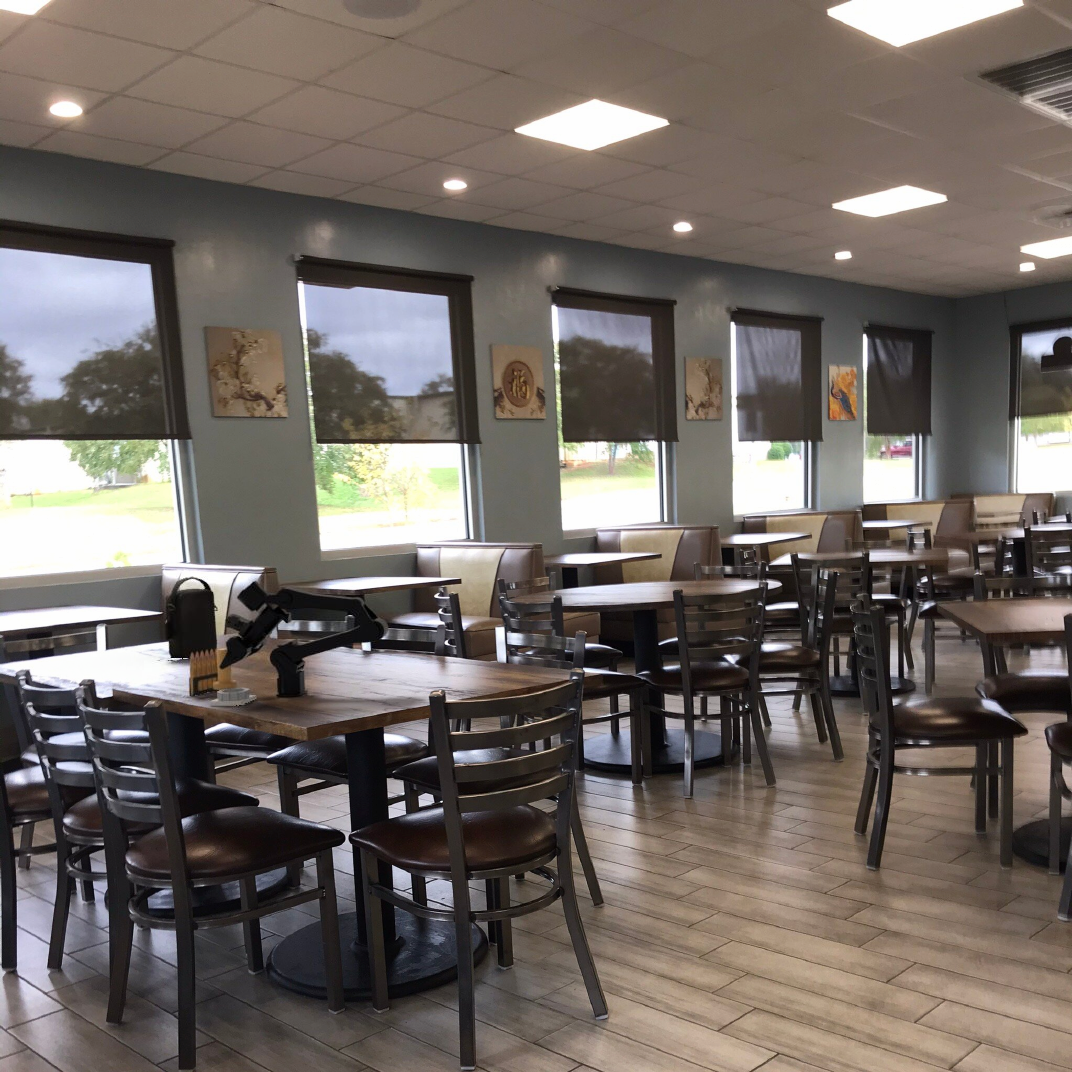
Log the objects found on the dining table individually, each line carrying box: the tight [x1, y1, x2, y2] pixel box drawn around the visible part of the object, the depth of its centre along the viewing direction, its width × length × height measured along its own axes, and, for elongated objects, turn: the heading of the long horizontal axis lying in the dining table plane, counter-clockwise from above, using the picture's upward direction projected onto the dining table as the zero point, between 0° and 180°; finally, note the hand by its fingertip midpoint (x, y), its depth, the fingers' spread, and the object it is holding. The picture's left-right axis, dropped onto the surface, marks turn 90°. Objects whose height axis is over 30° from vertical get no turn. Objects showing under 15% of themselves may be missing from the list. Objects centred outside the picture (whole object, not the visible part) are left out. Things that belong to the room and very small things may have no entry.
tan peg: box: [213, 647, 239, 690], centre depth 282 cm, size 6×6×13 cm
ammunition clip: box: [188, 647, 218, 697], centre depth 290 cm, size 11×2×12 cm, turn 150°
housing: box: [209, 687, 257, 707], centre depth 273 cm, size 9×9×3 cm
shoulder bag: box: [157, 576, 219, 662], centre depth 365 cm, size 23×9×28 cm, turn 151°
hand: (226, 665), depth 282 cm, fingers open, 9 cm apart
